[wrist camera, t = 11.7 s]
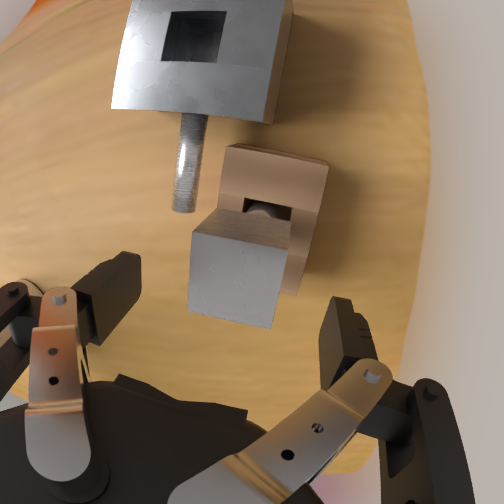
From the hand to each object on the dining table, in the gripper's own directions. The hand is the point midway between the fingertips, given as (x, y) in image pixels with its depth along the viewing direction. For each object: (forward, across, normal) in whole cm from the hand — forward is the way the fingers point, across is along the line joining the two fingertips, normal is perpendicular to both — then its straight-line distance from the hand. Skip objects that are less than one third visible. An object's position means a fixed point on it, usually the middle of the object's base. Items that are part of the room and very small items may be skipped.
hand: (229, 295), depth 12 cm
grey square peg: (+13, 0, 0) cm, 13 cm away
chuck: (+14, +5, -8) cm, 17 cm away
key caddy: (+14, 0, 0) cm, 14 cm away
